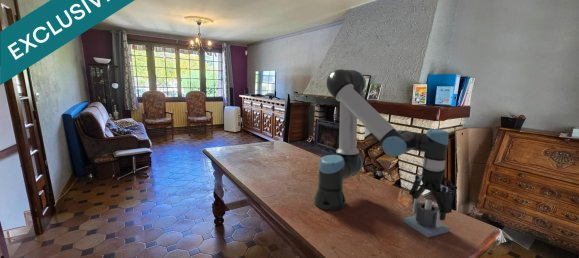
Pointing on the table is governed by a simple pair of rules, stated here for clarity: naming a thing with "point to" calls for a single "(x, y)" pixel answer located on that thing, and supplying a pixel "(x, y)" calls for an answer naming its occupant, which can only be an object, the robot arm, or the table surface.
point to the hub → (426, 215)
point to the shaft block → (425, 229)
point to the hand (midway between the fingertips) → (426, 219)
